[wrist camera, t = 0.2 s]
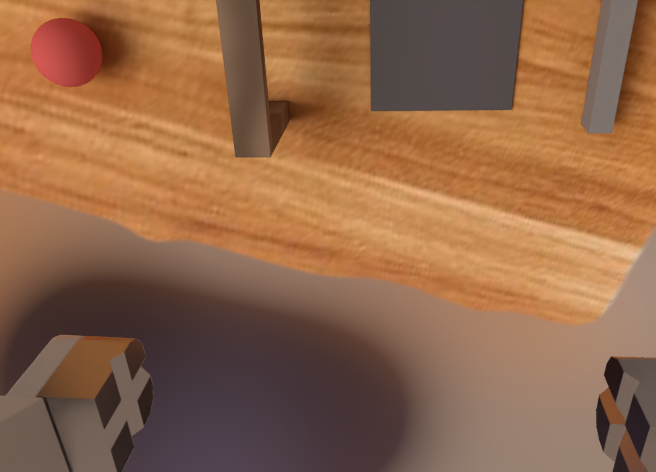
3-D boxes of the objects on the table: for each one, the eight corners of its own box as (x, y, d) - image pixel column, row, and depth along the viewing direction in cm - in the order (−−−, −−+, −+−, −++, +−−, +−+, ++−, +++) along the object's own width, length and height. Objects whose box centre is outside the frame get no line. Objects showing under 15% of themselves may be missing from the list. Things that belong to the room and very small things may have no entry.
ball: (44, 14, 56) (8, 25, 51) (105, 12, 55) (74, 23, 50) (61, 78, 59) (28, 95, 54) (119, 77, 58) (91, 94, 53)
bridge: (259, 121, 59) (235, 157, 50) (242, -47, 51) (211, -38, 43) (289, 121, 58) (270, 157, 50) (276, -49, 51) (251, -40, 43)
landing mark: (370, -39, 51) (369, -39, 51) (527, -45, 49) (528, -45, 49) (371, 110, 57) (371, 111, 57) (511, 109, 55) (511, 109, 55)
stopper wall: (613, -69, 48) (623, -68, 46) (640, -70, 48) (651, -69, 45) (581, 124, 55) (588, 133, 53) (603, 124, 55) (611, 133, 53)
